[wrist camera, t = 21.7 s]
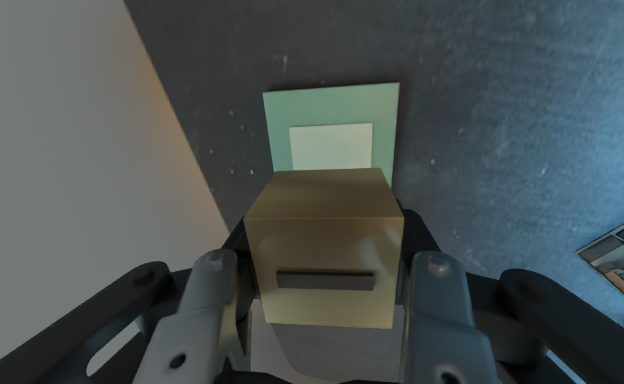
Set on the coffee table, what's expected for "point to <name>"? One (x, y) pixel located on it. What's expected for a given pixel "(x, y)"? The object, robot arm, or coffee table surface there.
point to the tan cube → (327, 247)
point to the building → (607, 257)
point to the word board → (333, 127)
